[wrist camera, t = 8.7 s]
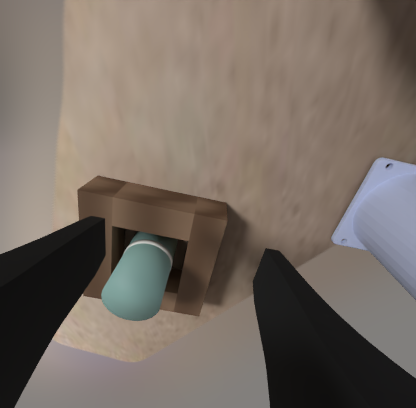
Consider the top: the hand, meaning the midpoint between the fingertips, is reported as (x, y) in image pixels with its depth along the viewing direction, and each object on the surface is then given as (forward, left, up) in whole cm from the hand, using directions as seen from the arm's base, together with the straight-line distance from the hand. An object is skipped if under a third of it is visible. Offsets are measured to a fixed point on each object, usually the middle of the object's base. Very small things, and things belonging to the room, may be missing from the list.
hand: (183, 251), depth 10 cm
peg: (+3, +7, -9) cm, 12 cm away
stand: (+3, +7, -9) cm, 12 cm away
